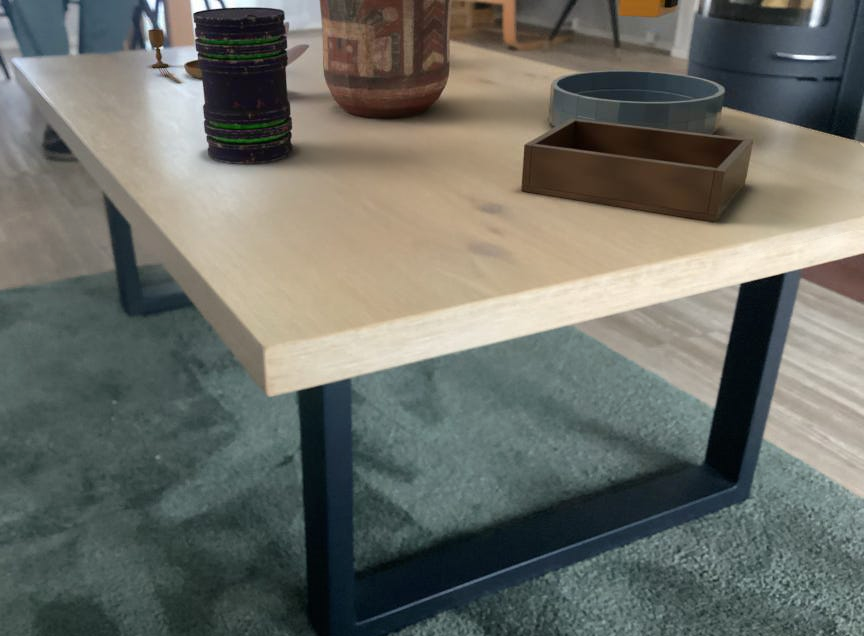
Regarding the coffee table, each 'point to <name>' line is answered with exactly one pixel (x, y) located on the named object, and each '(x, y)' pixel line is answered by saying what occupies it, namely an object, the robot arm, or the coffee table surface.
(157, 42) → the place setting
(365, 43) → the pottery
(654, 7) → the block
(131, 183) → the coffee table surface
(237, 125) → the storage jar
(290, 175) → the coffee table surface
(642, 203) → the box
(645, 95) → the bowl
